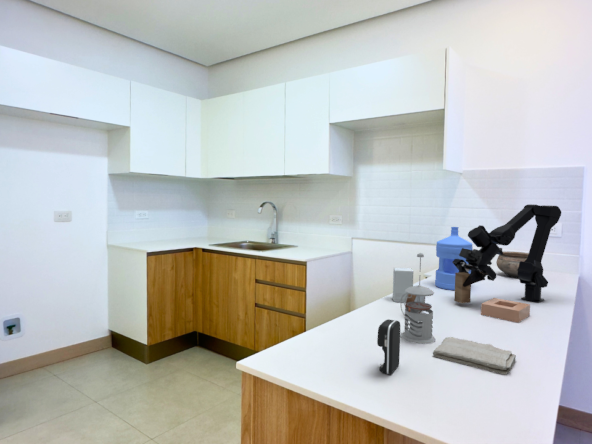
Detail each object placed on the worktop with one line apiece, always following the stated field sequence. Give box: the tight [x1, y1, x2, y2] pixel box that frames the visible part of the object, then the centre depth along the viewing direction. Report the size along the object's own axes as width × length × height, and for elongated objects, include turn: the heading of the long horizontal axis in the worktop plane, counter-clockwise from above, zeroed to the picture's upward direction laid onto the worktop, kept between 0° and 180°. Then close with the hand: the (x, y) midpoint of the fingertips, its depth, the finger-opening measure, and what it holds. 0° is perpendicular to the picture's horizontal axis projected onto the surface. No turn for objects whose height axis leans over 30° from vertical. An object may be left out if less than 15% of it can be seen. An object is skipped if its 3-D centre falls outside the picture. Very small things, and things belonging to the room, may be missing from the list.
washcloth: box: [432, 336, 517, 376], centre depth 98 cm, size 12×18×3 cm, turn 54°
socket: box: [480, 297, 531, 324], centre depth 136 cm, size 12×12×4 cm
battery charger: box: [376, 319, 401, 375], centre depth 91 cm, size 7×4×11 cm, turn 149°
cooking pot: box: [496, 251, 529, 279], centre depth 206 cm, size 25×19×12 cm
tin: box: [405, 294, 426, 314], centre depth 137 cm, size 15×3×8 cm, turn 145°
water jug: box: [434, 226, 474, 291], centre depth 178 cm, size 16×16×28 cm
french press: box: [400, 252, 436, 345], centre depth 113 cm, size 10×12×25 cm
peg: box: [453, 272, 472, 304], centre depth 148 cm, size 4×4×11 cm
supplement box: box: [392, 267, 414, 304], centre depth 154 cm, size 7×7×13 cm
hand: (459, 284), depth 148 cm, fingers closed on peg, 4 cm apart
